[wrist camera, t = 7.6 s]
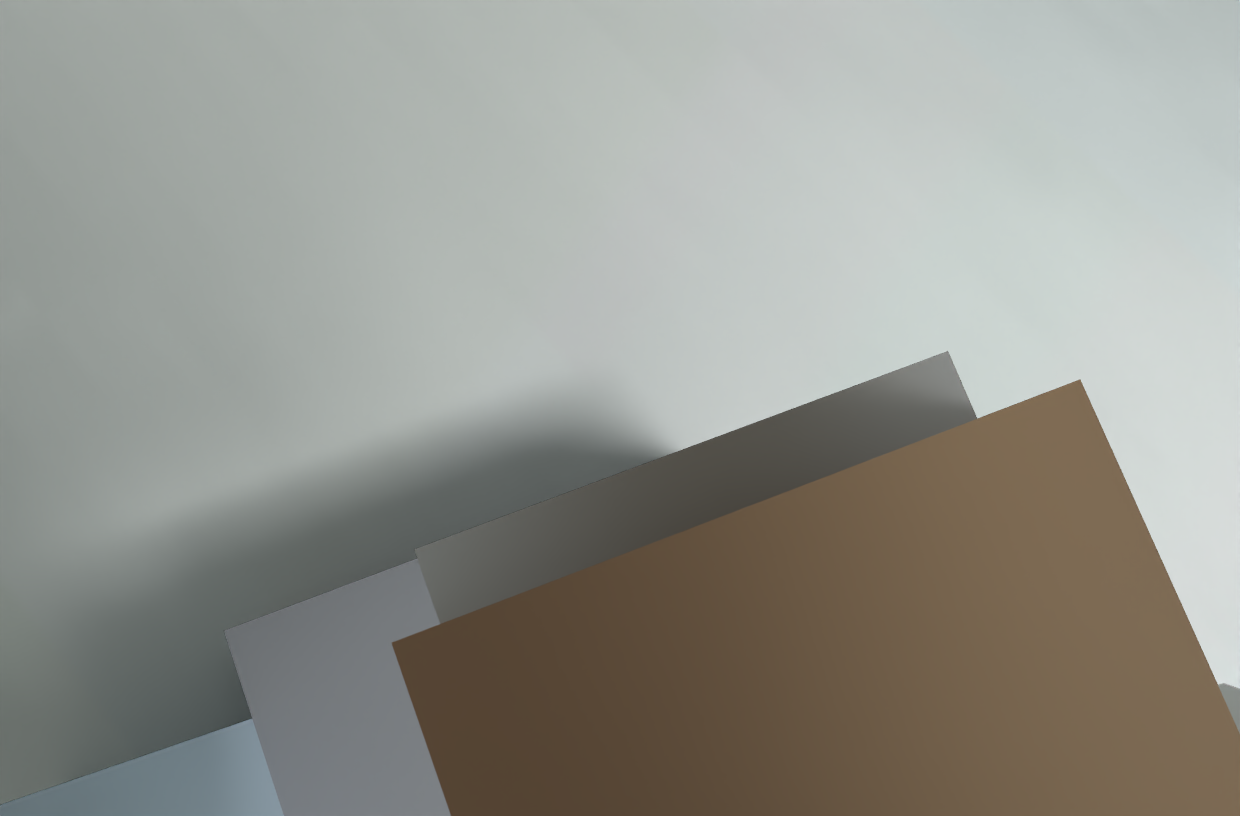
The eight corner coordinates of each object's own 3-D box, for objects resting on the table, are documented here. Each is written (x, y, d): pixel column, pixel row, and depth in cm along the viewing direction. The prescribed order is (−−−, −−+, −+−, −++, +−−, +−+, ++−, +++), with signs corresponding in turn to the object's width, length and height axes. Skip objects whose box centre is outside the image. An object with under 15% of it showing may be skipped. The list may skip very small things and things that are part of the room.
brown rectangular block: (730, 497, 16) (1043, 297, 7) (882, 881, 16) (1497, 1308, 6) (458, 599, 16) (358, 550, 6) (603, 1004, 15) (759, 1712, 5)
